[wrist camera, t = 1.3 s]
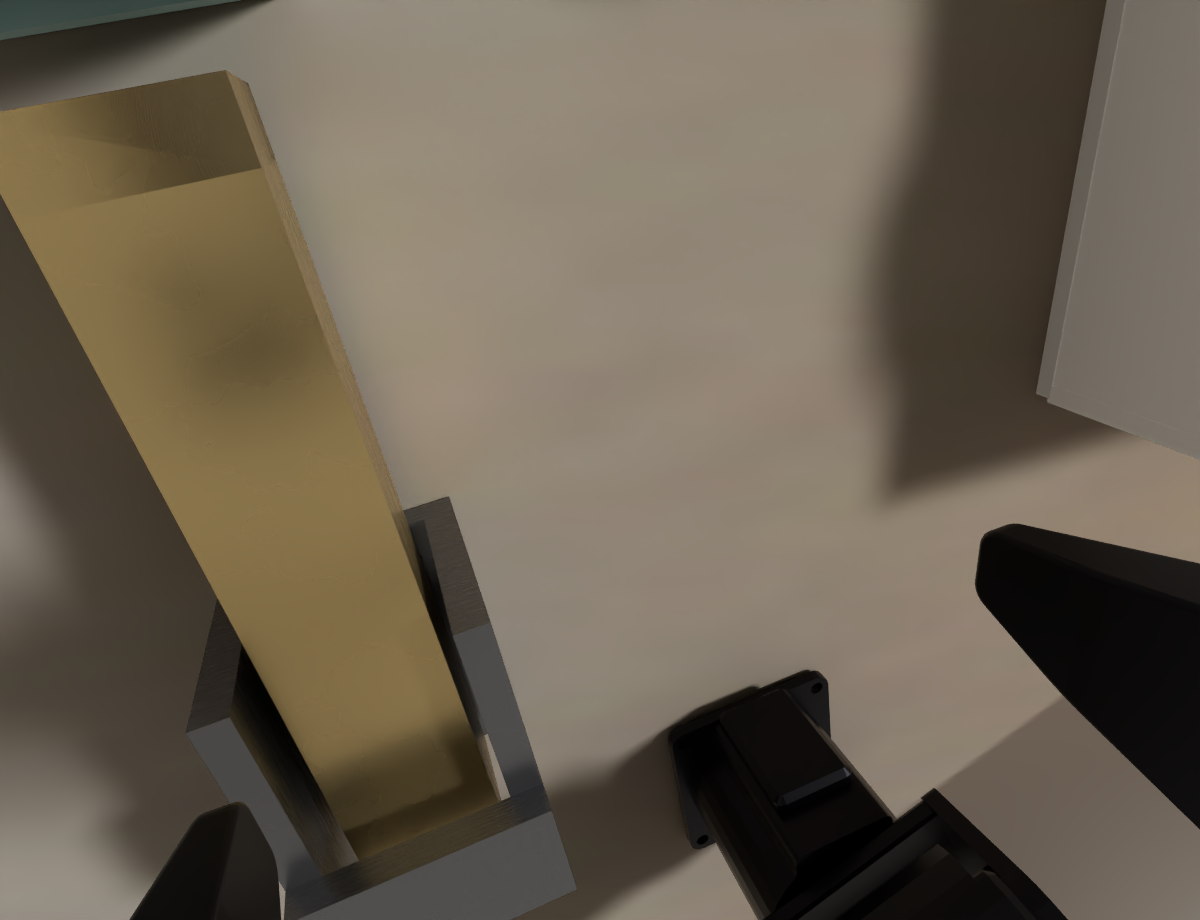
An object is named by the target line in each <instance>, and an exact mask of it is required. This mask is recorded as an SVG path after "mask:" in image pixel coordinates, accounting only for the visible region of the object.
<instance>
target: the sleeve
mask: <svg viewBox="0 0 1200 920" xmlns="http://www.w3.org/2000/svg"><path fill="white" fill-rule="evenodd" d="M403 512H404V514H405V517H406V520H407V523H408V525H409V528H410V531H411V534H412V536H413V539H414V542H415V545H416V547H417V550H418V553H419V556H420V559H421V561H422V564H423V567H424V570H425V572H426V575H427V578H428V581H429V583H430V586H431V589H432V592H433V594H434V597H435V600H436V603H437V605H438V608H439V611H440V614H441V616H442V619H443V622H444V625H445V627H446V630H447V633H448V636H449V638H450V641H451V644H452V647H453V649H454V652H455V655H456V658H457V660H458V663H459V666H460V669H461V671H462V674H463V677H464V680H465V682H466V685H467V688H468V691H469V693H470V696H471V699H472V702H473V704H474V707H475V710H476V713H477V715H478V718H479V721H480V724H481V727H482V729H483V732H484V735H486V734H488V735H489V738H490V741H491V744H492V746H493V749H494V752H495V755H496V758H497V760H498V763H499V766H500V769H501V771H502V774H503V777H504V780H505V783H506V785H507V788H508V791H509V794H510V796H511V797H510V798H507V799H505V800H503V801H500V802H498V803H495V804H493V805H491V806H488V807H486V808H483V809H481V810H479V811H476V812H474V813H472V814H469V815H467V816H464V817H462V818H460V819H457V820H455V821H452V822H450V823H448V824H445V825H443V826H440V827H438V828H436V829H433V830H431V831H429V832H426V833H424V834H421V835H419V836H417V837H414V838H412V839H409V840H407V841H405V842H402V843H400V844H398V845H395V846H393V847H390V848H388V849H386V850H383V851H381V852H378V853H376V854H374V855H371V856H369V857H367V858H364V859H362V860H358V858H357V856H356V854H355V852H354V851H353V849H352V847H351V845H350V843H349V841H348V839H347V838H346V836H345V834H344V832H343V830H342V828H341V826H340V825H339V823H338V821H337V819H336V817H335V815H334V813H333V812H332V810H331V808H330V806H329V804H328V802H327V800H326V799H325V797H324V795H323V793H322V791H321V789H320V787H319V786H318V784H317V782H316V780H315V778H314V776H313V774H312V773H311V771H310V769H309V767H308V765H307V763H306V761H305V760H304V758H303V756H302V754H301V752H300V750H299V748H298V747H297V745H296V743H295V741H294V739H293V737H292V735H291V734H290V732H289V730H288V728H287V726H286V724H285V722H284V721H283V719H282V717H281V715H280V713H279V711H278V709H277V708H276V706H275V704H274V702H273V700H272V698H271V696H270V694H269V693H268V691H267V689H266V687H265V685H264V683H263V681H262V680H261V678H260V676H259V674H258V672H257V670H256V668H255V667H254V665H253V663H252V661H251V659H250V657H249V655H248V654H247V652H246V650H245V648H244V646H243V644H242V642H241V641H240V639H239V637H238V635H237V633H236V631H235V629H234V628H233V626H232V624H231V622H230V620H229V618H228V616H227V615H226V613H225V611H224V609H223V607H222V605H221V603H220V602H219V600H218V598H217V603H216V607H215V611H214V615H213V620H212V624H211V628H210V632H209V636H208V641H207V645H206V649H205V653H204V658H203V662H202V666H201V670H200V675H199V679H198V683H197V687H196V691H195V696H194V700H193V704H192V708H191V713H190V717H189V721H188V725H187V730H186V735H187V736H188V738H189V740H190V741H191V743H192V744H193V746H194V747H195V749H196V751H197V752H198V754H199V755H200V757H201V759H202V760H203V762H204V763H205V765H206V766H207V768H208V770H209V771H210V773H211V774H212V776H213V777H214V779H215V781H216V782H217V784H218V785H219V787H220V789H221V790H222V792H223V793H224V795H225V796H226V798H227V800H228V801H229V803H230V804H231V803H233V802H243V803H244V804H246V805H247V806H248V807H249V809H250V810H251V812H252V814H253V816H254V818H255V820H256V821H257V823H258V825H259V827H260V829H261V831H262V832H263V834H264V836H265V838H266V840H267V842H268V843H269V845H270V847H271V849H272V851H273V854H274V857H275V860H276V864H277V870H278V880H279V882H280V883H281V885H282V887H283V888H284V890H285V891H286V893H285V911H284V920H511V919H513V918H516V917H518V916H520V915H522V914H524V913H526V912H529V911H531V910H533V909H535V908H537V907H540V906H542V905H544V904H546V903H548V902H551V901H553V900H555V899H557V898H559V897H562V896H564V895H566V894H568V893H570V892H573V891H575V890H577V887H576V884H575V881H574V878H573V875H572V872H571V868H570V865H569V862H568V859H567V856H566V853H565V850H564V847H563V844H562V841H561V838H560V835H559V831H558V828H557V825H556V822H555V819H554V816H553V813H552V810H551V807H550V804H549V801H548V798H547V795H546V792H545V789H544V786H543V783H542V779H541V776H540V773H539V770H538V767H537V764H536V761H535V758H534V755H533V752H532V749H531V746H530V743H529V739H528V736H527V733H526V730H525V727H524V724H523V721H522V718H521V715H520V712H519V709H518V706H517V702H516V699H515V696H514V693H513V690H512V687H511V684H510V681H509V678H508V675H507V672H506V669H505V665H504V662H503V659H502V656H501V653H500V650H499V647H498V644H497V641H496V638H495V635H494V632H493V629H492V625H491V622H490V619H489V616H488V613H487V610H486V607H485V604H484V601H483V598H482V595H481V592H480V589H479V586H478V583H477V580H476V577H475V574H474V571H473V568H472V565H471V562H470V559H469V556H468V553H467V550H466V547H465V544H464V541H463V538H462V535H461V532H460V529H459V526H458V523H457V520H456V517H455V514H454V511H453V508H452V505H451V501H450V498H449V497H446V498H443V499H440V500H437V501H434V502H430V503H427V504H424V505H421V506H418V507H415V508H412V509H409V510H406V511H403Z"/></svg>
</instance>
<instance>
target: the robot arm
mask: <svg viewBox="0 0 1200 920" xmlns="http://www.w3.org/2000/svg"><path fill="white" fill-rule="evenodd" d="M975 587H976V591H977V594H978V596H979V598H980V600H981V601H982V603H983V604H984V605H985V606H986V608H987V609H988V610H989V611H990V612H991V613H992V615H993V616H994V617H995V618H996V619H997V620H998V621H999V623H1000V624H1001V625H1002V626H1003V627H1004V628H1005V630H1006V631H1007V632H1008V633H1009V634H1010V635H1011V637H1012V638H1013V639H1014V640H1015V641H1016V642H1017V643H1018V645H1019V646H1020V647H1021V648H1022V649H1023V650H1024V652H1025V653H1026V654H1027V655H1028V656H1029V657H1030V659H1031V660H1032V661H1033V662H1034V663H1035V664H1036V665H1037V667H1038V668H1039V669H1040V670H1041V671H1042V672H1043V674H1044V675H1045V676H1046V677H1047V678H1048V679H1049V681H1050V682H1051V683H1052V684H1053V685H1054V686H1055V687H1056V688H1057V689H1058V691H1059V692H1060V693H1061V694H1062V695H1063V696H1064V697H1065V698H1066V699H1067V700H1068V701H1069V702H1070V703H1071V704H1072V705H1073V706H1074V707H1075V708H1076V709H1077V710H1078V711H1079V712H1080V713H1081V714H1082V715H1083V716H1084V717H1085V718H1086V719H1087V720H1088V721H1089V722H1090V723H1091V724H1092V725H1093V726H1094V727H1095V728H1096V729H1097V730H1098V731H1099V732H1100V733H1101V734H1102V735H1103V736H1104V737H1105V738H1106V739H1107V740H1109V742H1110V743H1112V744H1113V745H1114V746H1115V747H1116V748H1117V749H1118V750H1119V751H1120V752H1121V753H1122V754H1123V755H1124V756H1125V757H1126V758H1127V759H1128V760H1129V761H1130V762H1131V763H1132V764H1133V765H1134V766H1135V767H1136V768H1137V769H1138V770H1139V771H1140V772H1142V774H1143V775H1144V776H1145V777H1146V778H1147V779H1149V780H1150V781H1151V782H1152V783H1153V784H1154V785H1155V786H1156V787H1157V788H1158V789H1159V790H1160V791H1161V792H1162V793H1163V794H1164V795H1165V796H1166V797H1167V798H1168V799H1169V800H1170V801H1171V802H1172V803H1173V804H1174V805H1175V806H1176V807H1177V808H1178V809H1179V810H1180V811H1181V812H1183V814H1184V815H1186V816H1187V817H1188V818H1189V819H1190V820H1191V821H1192V822H1193V823H1194V824H1195V825H1196V826H1197V827H1198V828H1199V829H1200V564H1199V563H1195V562H1190V561H1186V560H1181V559H1177V558H1172V557H1167V556H1163V555H1158V554H1154V553H1149V552H1145V551H1140V550H1136V549H1131V548H1127V547H1122V546H1117V545H1113V544H1108V543H1104V542H1099V541H1095V540H1090V539H1086V538H1081V537H1077V536H1072V535H1067V534H1063V533H1058V532H1054V531H1049V530H1045V529H1040V528H1036V527H1031V526H1027V525H1022V524H1008V525H1005V526H1002V527H1000V528H997V529H994V530H991V531H989V532H987V533H986V534H984V536H983V537H982V539H981V542H980V548H979V556H978V563H977V571H976V578H975ZM682 740H683V741H682ZM668 743H669V749H670V754H671V759H672V764H673V769H674V774H675V779H676V784H677V789H678V794H679V799H680V804H681V809H682V814H683V819H684V824H685V829H686V834H687V838H688V840H689V842H690V844H691V846H692V847H693V848H694V849H702V848H705V847H707V846H709V845H711V844H713V843H715V842H716V844H717V846H718V847H719V849H720V851H721V853H722V855H723V857H724V858H725V860H726V862H727V864H728V866H729V868H730V869H731V871H732V873H733V875H734V877H735V879H736V880H737V882H738V884H739V886H740V888H741V890H742V891H743V893H744V895H745V897H746V899H747V901H748V902H749V904H750V906H751V908H752V910H753V912H754V913H755V915H756V917H757V919H758V920H1068V919H1067V918H1066V917H1065V916H1064V915H1063V914H1062V913H1061V911H1060V910H1059V909H1058V908H1057V907H1056V906H1055V905H1054V904H1053V903H1052V901H1051V900H1050V899H1049V898H1048V897H1047V896H1046V895H1045V894H1044V893H1043V892H1042V891H1041V889H1040V888H1039V887H1038V886H1037V885H1036V884H1035V883H1034V882H1033V881H1032V880H1031V879H1030V878H1029V877H1028V876H1027V875H1026V874H1025V873H1024V872H1023V871H1022V870H1021V869H1019V868H1018V867H1017V866H1016V865H1015V864H1014V863H1013V862H1012V861H1011V860H1010V859H1009V858H1008V857H1007V856H1006V855H1005V854H1004V853H1003V852H1002V851H1000V850H999V849H998V848H997V847H996V846H995V845H994V844H993V843H992V842H991V841H990V840H989V839H988V838H987V837H986V836H985V835H984V834H983V833H981V832H980V831H979V830H978V829H977V828H976V827H975V826H974V825H973V824H972V823H971V822H970V821H969V820H968V819H967V818H966V817H965V816H963V815H962V814H961V813H960V812H959V811H958V810H957V809H956V808H955V807H954V806H953V805H952V804H951V803H950V802H949V801H948V800H947V799H946V798H945V797H944V796H942V795H941V794H940V793H939V792H938V791H937V790H936V789H935V788H933V789H932V790H930V791H929V792H928V793H926V794H925V795H924V796H922V797H921V799H922V801H921V802H920V803H918V804H917V805H916V806H914V807H913V808H912V809H910V810H909V811H908V812H906V813H905V814H904V815H902V816H901V817H900V818H898V819H897V818H896V817H895V816H894V814H893V813H892V812H891V811H890V810H889V808H888V807H887V806H886V805H885V804H884V802H883V801H882V800H881V799H880V798H879V796H878V795H877V794H876V793H875V791H874V790H873V789H872V788H871V787H870V785H869V784H868V783H867V782H866V781H865V779H864V778H863V777H862V776H861V775H860V773H859V772H858V771H857V770H856V769H855V767H854V766H853V765H852V764H851V762H850V761H849V760H848V759H847V758H846V756H845V755H844V754H843V753H842V752H841V750H840V749H839V748H838V747H837V746H836V744H835V743H834V742H833V741H832V740H831V733H830V713H829V693H828V682H827V680H826V678H825V677H824V676H823V675H822V674H821V673H820V672H819V671H811V672H808V673H806V674H804V675H801V676H799V677H796V678H794V679H792V680H789V681H787V682H784V683H782V684H780V685H777V686H775V687H773V688H770V689H768V690H765V691H763V692H761V693H758V694H756V695H753V696H751V697H749V698H746V699H744V700H742V701H739V702H737V703H734V704H732V705H730V706H727V707H725V708H722V709H720V710H718V711H715V712H713V713H711V714H708V715H706V716H703V717H701V718H699V719H696V720H694V721H691V722H689V723H687V724H684V725H682V726H680V727H678V728H676V729H674V730H673V731H672V732H671V733H670V735H669V737H668ZM130 920H281V910H280V896H279V881H278V870H277V864H276V860H275V857H274V854H273V851H272V849H271V847H270V845H269V843H268V842H267V840H266V838H265V836H264V834H263V832H262V831H261V829H260V827H259V825H258V823H257V821H256V820H255V818H254V816H253V814H252V812H251V810H250V809H249V807H248V806H247V805H246V804H244V803H243V802H233V803H231V804H228V805H225V806H222V807H220V808H217V809H214V810H211V811H208V812H206V813H203V814H201V815H200V816H198V817H197V818H196V819H195V820H194V822H193V823H192V824H191V826H190V827H189V829H188V830H187V832H186V833H185V835H184V837H183V838H182V840H181V841H180V843H179V844H178V846H177V847H176V849H175V850H174V852H173V853H172V855H171V857H170V858H169V860H168V861H167V863H166V864H165V866H164V867H163V869H162V870H161V872H160V873H159V875H158V877H157V878H156V880H155V881H154V883H153V884H152V886H151V887H150V889H149V890H148V892H147V893H146V895H145V897H144V898H143V900H142V901H141V903H140V904H139V906H138V907H137V909H136V910H135V912H134V913H133V915H132V917H131V918H130Z"/></svg>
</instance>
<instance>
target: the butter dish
mask: <svg viewBox="0 0 1200 920" xmlns="http://www.w3.org/2000/svg"><path fill="white" fill-rule="evenodd" d="M1036 394H1037V395H1040V396H1043V397H1046V398H1048V399H1047V402H1048V403H1050V404H1053V405H1056V406H1058V407H1061V408H1063V409H1066V410H1069V411H1071V412H1074V413H1077V414H1079V415H1082V416H1085V417H1087V418H1090V419H1093V420H1095V421H1098V422H1101V423H1103V424H1106V425H1109V426H1111V427H1114V428H1117V429H1119V430H1122V431H1125V432H1127V433H1130V434H1132V435H1135V436H1138V437H1140V438H1143V439H1146V440H1148V441H1151V442H1154V443H1156V444H1159V445H1162V446H1164V447H1167V448H1170V449H1172V450H1175V451H1178V452H1180V453H1183V454H1186V455H1188V456H1191V457H1194V458H1196V459H1199V460H1200V0H1107V2H1106V7H1105V13H1104V18H1103V24H1102V29H1101V35H1100V40H1099V46H1098V52H1097V57H1096V63H1095V68H1094V74H1093V79H1092V85H1091V90H1090V96H1089V101H1088V107H1087V113H1086V118H1085V124H1084V129H1083V135H1082V140H1081V146H1080V151H1079V157H1078V163H1077V168H1076V174H1075V179H1074V185H1073V190H1072V196H1071V201H1070V207H1069V213H1068V218H1067V224H1066V229H1065V235H1064V240H1063V246H1062V251H1061V257H1060V263H1059V268H1058V274H1057V279H1056V285H1055V290H1054V296H1053V301H1052V307H1051V313H1050V318H1049V324H1048V329H1047V335H1046V340H1045V346H1044V351H1043V357H1042V363H1041V368H1040V374H1039V379H1038V385H1037V390H1036Z"/></svg>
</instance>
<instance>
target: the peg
mask: <svg viewBox="0 0 1200 920" xmlns="http://www.w3.org/2000/svg"><path fill="white" fill-rule="evenodd" d="M0 194H1V196H2V198H3V200H4V202H5V204H6V206H7V208H8V209H9V211H10V213H11V215H12V217H13V219H14V221H15V222H16V224H17V226H18V228H19V230H20V232H21V234H22V235H23V237H24V239H25V241H26V243H27V245H28V247H29V248H30V250H31V252H32V254H33V256H34V258H35V260H36V261H37V263H38V265H39V267H40V269H41V271H42V273H43V274H44V276H45V278H46V280H47V282H48V284H49V286H50V287H51V289H52V291H53V293H54V295H55V297H56V299H57V300H58V302H59V304H60V306H61V308H62V310H63V312H64V313H65V315H66V317H67V319H68V321H69V323H70V325H71V326H72V328H73V330H74V332H75V334H76V336H77V338H78V339H79V341H80V343H81V345H82V347H83V349H84V351H85V352H86V354H87V356H88V358H89V360H90V362H91V364H92V365H93V367H94V369H95V371H96V373H97V375H98V377H99V379H100V380H101V382H102V384H103V386H104V388H105V390H106V392H107V393H108V395H109V397H110V399H111V401H112V403H113V405H114V406H115V408H116V410H117V412H118V414H119V416H120V418H121V419H122V421H123V423H124V425H125V427H126V429H127V431H128V432H129V434H130V436H131V438H132V440H133V442H134V444H135V445H136V447H137V449H138V451H139V453H140V455H141V457H142V458H143V460H144V462H145V464H146V466H147V468H148V470H149V471H150V473H151V475H152V477H153V479H154V481H155V483H156V484H157V486H158V488H159V490H160V492H161V494H162V496H163V497H164V499H165V501H166V503H167V505H168V507H169V509H170V510H171V512H172V514H173V516H174V518H175V520H176V522H177V523H178V525H179V527H180V529H181V531H182V533H183V535H184V537H185V538H186V540H187V542H188V544H189V546H190V548H191V550H192V551H193V553H194V555H195V557H196V559H197V561H198V563H199V564H200V566H201V568H202V570H203V572H204V574H205V576H206V577H207V579H208V581H209V583H210V585H211V587H212V589H213V590H214V592H215V594H216V596H217V598H218V600H219V602H220V603H221V605H222V607H223V609H224V611H225V613H226V615H227V616H228V618H229V620H230V622H231V624H232V626H233V628H234V629H235V631H236V633H237V635H238V637H239V639H240V641H241V642H242V644H243V646H244V648H245V650H246V652H247V654H248V655H249V657H250V659H251V661H252V663H253V665H254V667H255V668H256V670H257V672H258V674H259V676H260V678H261V680H262V681H263V683H264V685H265V687H266V689H267V691H268V693H269V694H270V696H271V698H272V700H273V702H274V704H275V706H276V708H277V709H278V711H279V713H280V715H281V717H282V719H283V721H284V722H285V724H286V726H287V728H288V730H289V732H290V734H291V735H292V737H293V739H294V741H295V743H296V745H297V747H298V748H299V750H300V752H301V754H302V756H303V758H304V760H305V761H306V763H307V765H308V767H309V769H310V771H311V773H312V774H313V776H314V778H315V780H316V782H317V784H318V786H319V787H320V789H321V791H322V793H323V795H324V797H325V799H326V800H327V802H328V804H329V806H330V808H331V810H332V812H333V813H334V815H335V817H336V819H337V821H338V823H339V825H340V826H341V828H342V830H343V832H344V834H345V836H346V838H347V839H348V841H349V843H350V845H351V847H352V849H353V851H354V852H355V854H356V856H357V858H358V860H362V859H364V858H367V857H369V856H371V855H374V854H376V853H378V852H381V851H383V850H386V849H388V848H390V847H393V846H395V845H398V844H400V843H402V842H405V841H407V840H409V839H412V838H414V837H417V836H419V835H421V834H424V833H426V832H429V831H431V830H433V829H436V828H438V827H440V826H443V825H445V824H448V823H450V822H452V821H455V820H457V819H460V818H462V817H464V816H467V815H469V814H472V813H474V812H476V811H479V810H481V809H483V808H486V807H488V806H491V805H493V804H495V803H498V802H500V801H501V797H500V794H499V790H498V786H497V782H496V778H495V774H494V770H493V767H492V763H491V759H490V755H489V751H488V747H487V743H486V740H485V736H484V732H483V729H482V727H481V724H480V721H479V718H478V715H477V713H476V710H475V707H474V704H473V702H472V699H471V696H470V693H469V691H468V688H467V685H466V682H465V680H464V677H463V674H462V671H461V669H460V666H459V663H458V660H457V658H456V655H455V652H454V649H453V647H452V644H451V641H450V638H449V636H448V633H447V630H446V627H445V625H444V622H443V619H442V616H441V614H440V611H439V608H438V605H437V603H436V600H435V597H434V594H433V592H432V589H431V586H430V583H429V581H428V578H427V575H426V572H425V570H424V567H423V564H422V561H421V559H420V556H419V553H418V550H417V547H416V545H415V542H414V539H413V536H412V534H411V531H410V528H409V525H408V523H407V520H406V517H405V514H404V512H403V509H402V506H401V503H400V501H399V498H398V495H397V492H396V490H395V487H394V484H393V481H392V479H391V476H390V473H389V470H388V468H387V465H386V462H385V459H384V457H383V454H382V451H381V448H380V446H379V443H378V440H377V437H376V435H375V432H374V429H373V426H372V424H371V421H370V418H369V415H368V413H367V410H366V407H365V404H364V402H363V399H362V396H361V393H360V391H359V388H358V385H357V382H356V379H355V377H354V374H353V371H352V368H351V366H350V363H349V360H348V357H347V355H346V352H345V349H344V346H343V344H342V341H341V338H340V335H339V333H338V330H337V327H336V324H335V322H334V319H333V316H332V313H331V311H330V308H329V305H328V302H327V300H326V297H325V294H324V291H323V289H322V286H321V283H320V280H319V278H318V275H317V272H316V269H315V267H314V264H313V261H312V258H311V256H310V253H309V250H308V247H307V245H306V242H305V239H304V236H303V234H302V231H301V228H300V225H299V222H298V220H297V217H296V214H295V211H294V209H293V206H292V203H291V200H290V198H289V195H288V192H287V189H286V187H285V184H284V181H283V178H282V176H281V173H280V170H279V167H278V165H277V162H276V159H275V156H274V154H273V151H272V148H271V145H270V143H269V140H268V137H267V134H266V132H265V129H264V126H263V123H262V121H261V118H260V115H259V112H258V110H257V107H256V104H255V101H254V99H253V96H252V93H251V90H250V88H249V85H248V83H246V82H245V81H243V80H241V79H240V78H238V77H236V76H234V75H233V74H231V73H229V72H228V71H226V70H224V71H218V72H213V73H207V74H202V75H197V76H191V77H186V78H180V79H175V80H169V81H164V82H159V83H153V84H148V85H142V86H137V87H131V88H126V89H121V90H115V91H110V92H104V93H99V94H94V95H88V96H83V97H77V98H72V99H66V100H61V101H56V102H50V103H45V104H39V105H34V106H28V107H23V108H18V109H12V110H7V111H1V112H0Z"/></svg>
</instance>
